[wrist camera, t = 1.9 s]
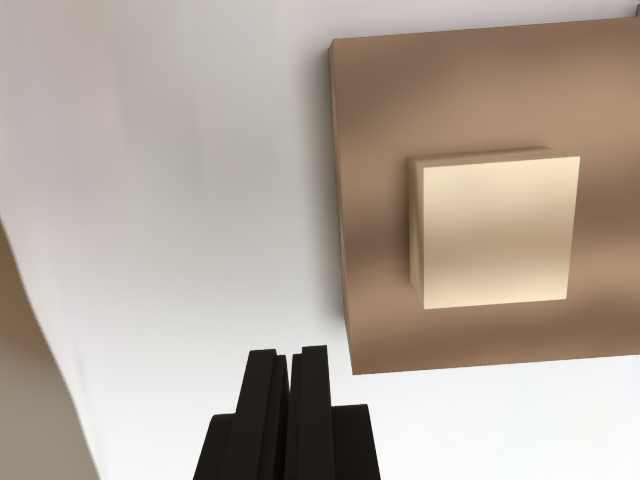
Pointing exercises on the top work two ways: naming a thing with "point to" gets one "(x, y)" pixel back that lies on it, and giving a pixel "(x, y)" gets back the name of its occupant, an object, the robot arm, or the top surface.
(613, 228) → the walnut riser
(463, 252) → the birch tile
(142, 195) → the top surface
